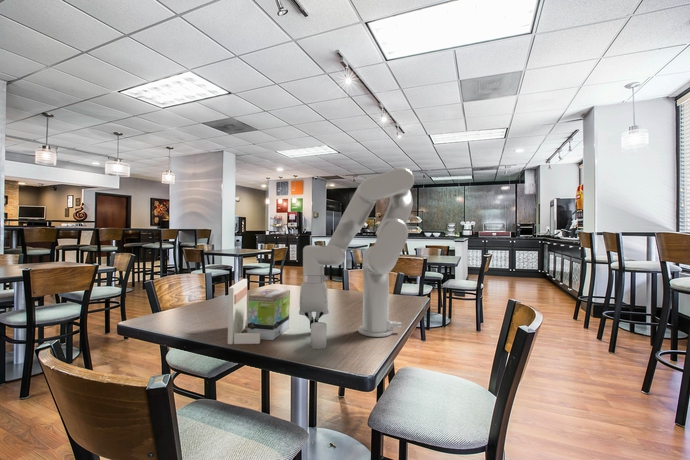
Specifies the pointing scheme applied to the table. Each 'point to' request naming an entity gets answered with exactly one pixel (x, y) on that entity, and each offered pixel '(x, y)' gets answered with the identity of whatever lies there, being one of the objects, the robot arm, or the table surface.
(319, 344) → the white cylinder
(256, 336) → the display stand
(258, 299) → the tea box
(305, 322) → the table surface
